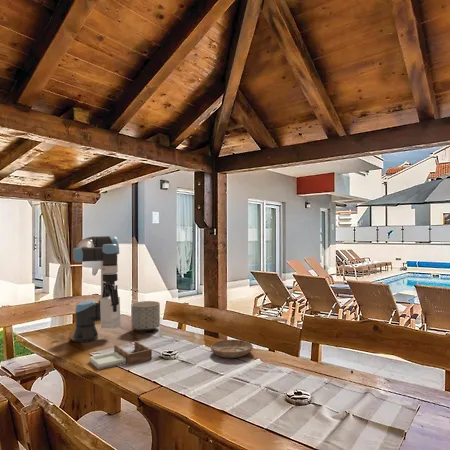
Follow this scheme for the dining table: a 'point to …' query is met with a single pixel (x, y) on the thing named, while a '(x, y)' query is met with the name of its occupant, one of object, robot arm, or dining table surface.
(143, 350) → the box
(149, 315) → the planter
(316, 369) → the dining table surface
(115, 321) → the skincare box
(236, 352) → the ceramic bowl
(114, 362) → the tray
